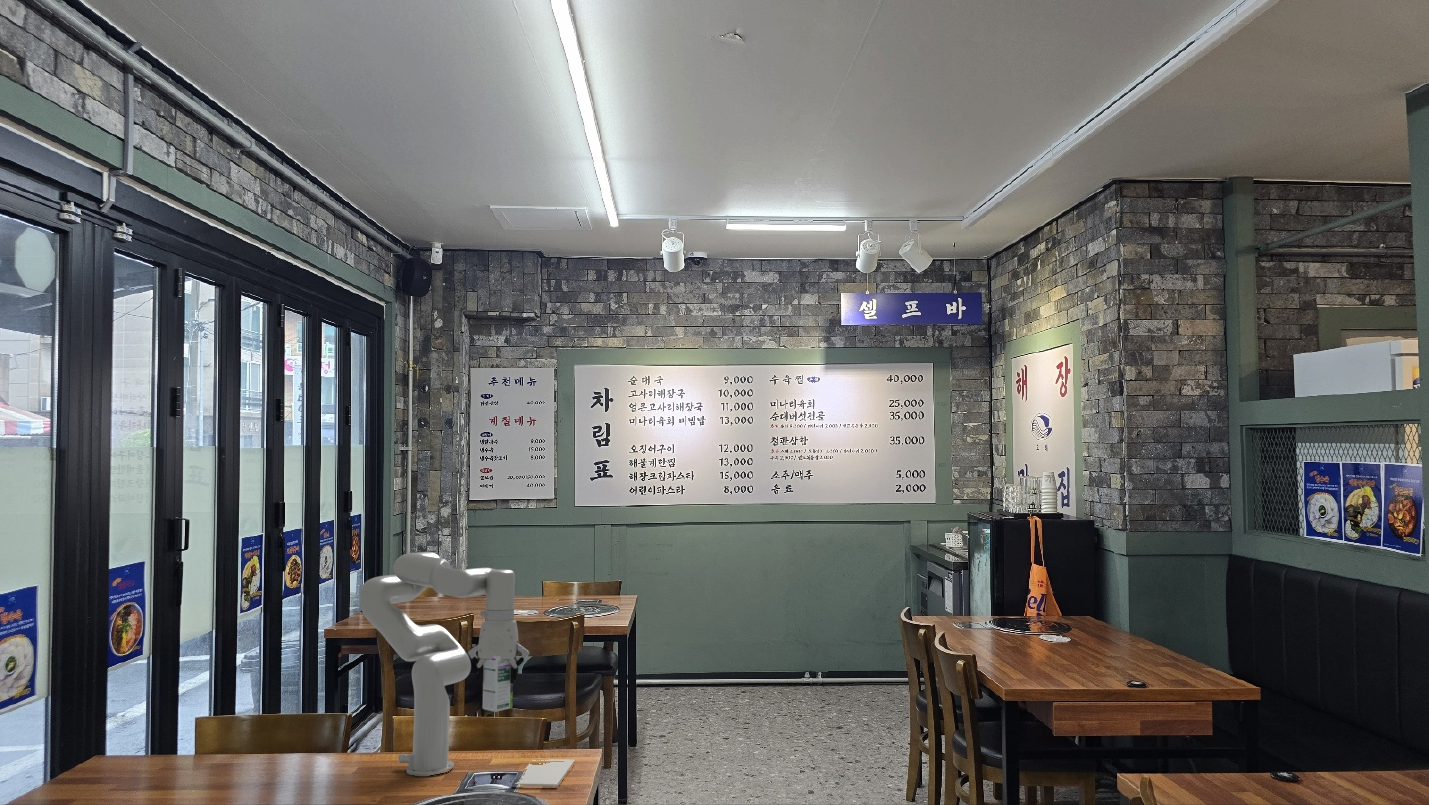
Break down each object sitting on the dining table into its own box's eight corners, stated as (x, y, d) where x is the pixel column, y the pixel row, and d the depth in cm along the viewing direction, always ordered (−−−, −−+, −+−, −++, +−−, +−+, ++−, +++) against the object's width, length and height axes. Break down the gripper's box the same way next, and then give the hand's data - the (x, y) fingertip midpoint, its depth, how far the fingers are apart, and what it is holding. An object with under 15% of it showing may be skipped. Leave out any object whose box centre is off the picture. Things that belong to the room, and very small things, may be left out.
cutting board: (511, 788, 230) (511, 783, 230) (533, 763, 252) (533, 758, 252) (557, 789, 229) (557, 784, 229) (575, 764, 251) (575, 759, 251)
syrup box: (495, 712, 233) (497, 656, 235) (481, 709, 237) (483, 653, 239) (512, 708, 238) (514, 653, 240) (498, 705, 242) (500, 650, 243)
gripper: (463, 617, 237) (461, 684, 235) (527, 618, 236) (525, 685, 234) (473, 613, 244) (471, 679, 243) (535, 614, 243) (533, 680, 241)
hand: (498, 682), depth 238 cm, fingers closed on syrup box, 7 cm apart
